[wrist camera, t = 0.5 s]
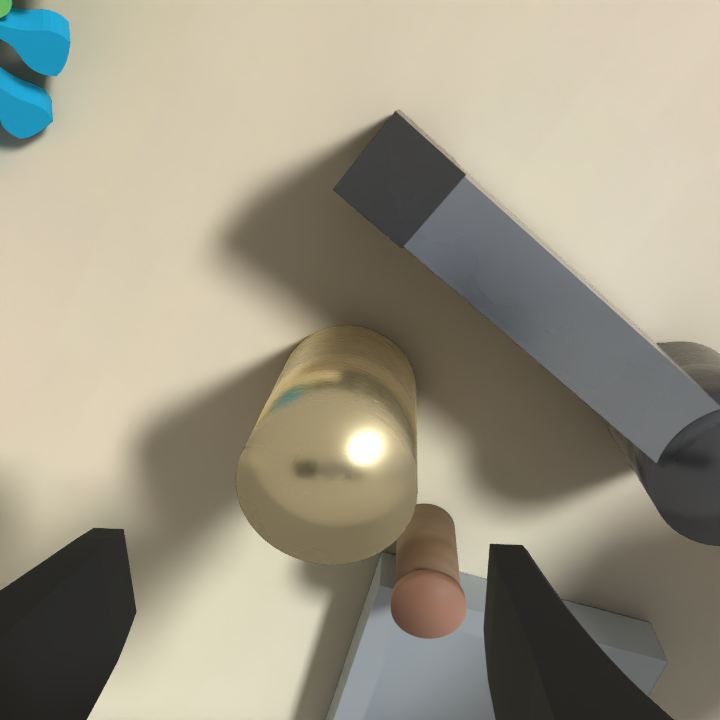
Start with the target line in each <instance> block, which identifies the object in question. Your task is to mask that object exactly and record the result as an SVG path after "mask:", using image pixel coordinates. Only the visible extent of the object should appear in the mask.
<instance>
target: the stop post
mask: <svg viewBox="0 0 720 720" xmlns="http://www.w3.org/2000/svg"><path fill="white" fill-rule="evenodd" d="M391 614H392V617H393V619H394V621H395V623H396V624H397V625H398V626H399V627H400V628H401V629H402V630H403V631H405V632H406V633H408V634H410V635H412V636H415V637H418V638H424V639H434V638H440V637H444V636H446V635H449V634H451V633H452V632H454V631H455V630H456V629H457V628H458V627H459V626H460V625H461V624H462V622H463V620H464V618H465V615H466V602H465V595H464V591H463V589H462V587H461V586H460V577H459V567H458V557H457V547H456V536H455V526H454V522H453V520H452V518H451V516H450V515H449V514H448V513H447V512H446V511H445V510H444V509H442V508H440V507H438V506H435V505H431V504H419V505H416V506H415V510H414V513H413V516H412V518H411V520H410V522H409V524H408V526H407V527H406V529H405V531H404V532H403V533H402V534H401V535H400V537H399V538H398V539H397V540H396V567H395V586H394V588H393V590H392V594H391Z"/></svg>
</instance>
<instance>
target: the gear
mask: <svg viewBox="0 0 720 720" xmlns="http://www.w3.org/2000/svg"><path fill="white" fill-rule="evenodd" d="M11 6H12V0H0V39H1V40H3V41H5V42H7V43H8V44H10V45H11V46H12V47H13V48H14V49H15V50H16V52H17V53H18V54H19V56H20V57H21V58H22V60H23V61H24V62H25V63H26V64H27V66H29V67H30V68H31V69H32V70H34V71H36V72H38V73H41V74H44V75H49V76H57V75H58V74H59V73H60V72H61V70H62V69H63V67H64V65H65V63H66V60H67V57H68V53H69V47H70V33H69V22H68V21H67V20H66V19H65V18H64V17H63V16H61V15H59V14H58V13H55V12H53V11H50V10H44V9H37V10H28V9H18V8H14V7H11ZM0 120H1V124H2V125H3V127H4V128H5V129H6V130H7V131H8V132H9V133H10V134H12V135H14V136H16V137H18V138H21V139H23V138H27V137H30V136H33V135H35V134H37V133H38V132H40V131H41V130H43V129H44V128H45V127H47V126H48V125H49V124H50V123H51V122H53V116H52V101H51V98H50V96H49V95H48V93H47V92H46V91H45V90H43V89H42V88H41V87H39V86H37V85H35V84H32V83H29V82H26V81H24V80H22V79H19V78H17V77H15V76H13V75H12V74H10V73H8V72H7V71H5V70H4V69H2V68H1V67H0Z"/></svg>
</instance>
